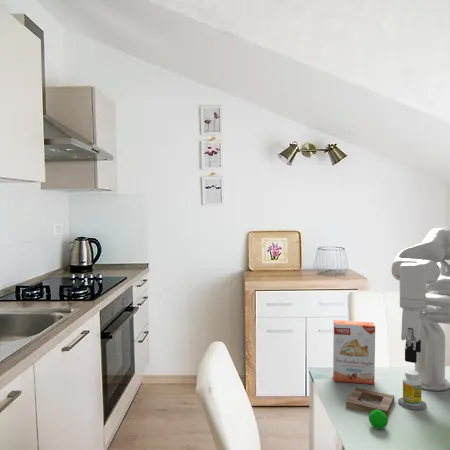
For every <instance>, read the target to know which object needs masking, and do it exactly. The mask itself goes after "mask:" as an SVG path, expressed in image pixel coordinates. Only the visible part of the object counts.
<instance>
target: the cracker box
mask: <svg viewBox="0 0 450 450" xmlns="http://www.w3.org/2000/svg"><path fill="white" fill-rule="evenodd" d="M332 345H333V347H332V348H333V350H332V351H333V359H332V360H333V361H332V365H333V367H332V376H333V381H334V382H343V383H344V382H345V383H352V384H353V383H354V384H365V385H366V384H367V385H375V378H376V377H375V367H376V365H375V363H376V361H375V360H376V325H375V323H374V322H372V321H354V320H340V319H334V320H333V343H332Z"/></svg>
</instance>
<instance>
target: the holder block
mask: <svg viewBox="0 0 450 450" xmlns="http://www.w3.org/2000/svg"><path fill="white" fill-rule="evenodd" d="M362 399H364V400H367V401H373V402H377V404H376V403H373V402H372V403H371V402H367V401H363V400H362ZM378 403H379V404H378ZM394 403H395V394H394V395H393V394H390V393H389V394H388V393H384V392H379V391H375V390H371V389H365V388H360V387H355V388H354V389H353V391H352V392H351V393H350V395H349V396H348V397H347V399H346V401H345V408H346V409H350V410H353V411H358V412H362V413H366V414H370V413H371V412H372V411H373V410H377V409H379V410H381V411H383V412H384V413H385V414H386V416H387V418H388V416H389V414H390V412H391V410H392V408H393V405H394Z"/></svg>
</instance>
